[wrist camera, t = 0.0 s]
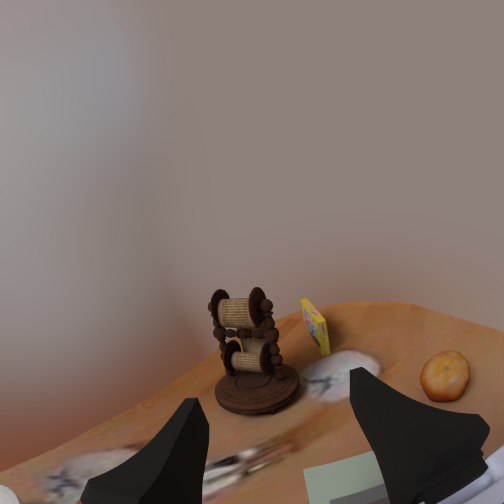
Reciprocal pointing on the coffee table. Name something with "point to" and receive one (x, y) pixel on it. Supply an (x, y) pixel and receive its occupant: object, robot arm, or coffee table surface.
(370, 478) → the felt mat
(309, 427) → the coffee table surface
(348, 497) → the slate tile
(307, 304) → the candy box
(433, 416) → the robot arm
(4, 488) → the ramekin
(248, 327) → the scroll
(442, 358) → the fruit
